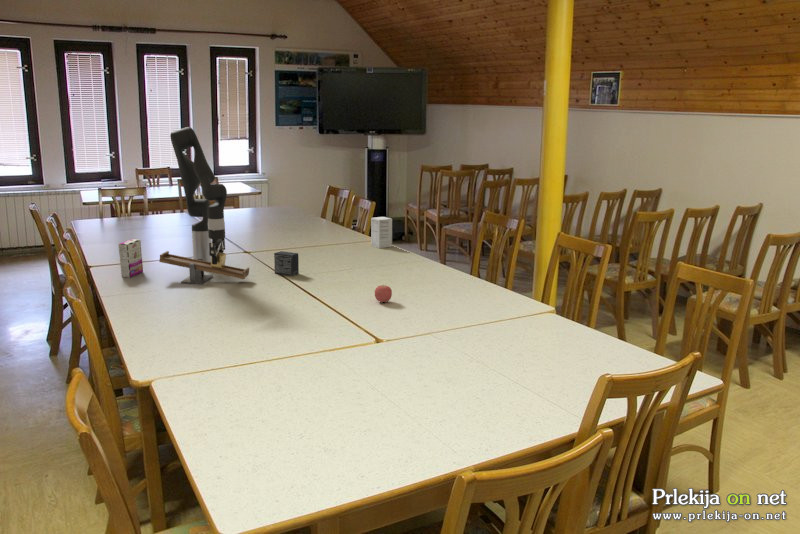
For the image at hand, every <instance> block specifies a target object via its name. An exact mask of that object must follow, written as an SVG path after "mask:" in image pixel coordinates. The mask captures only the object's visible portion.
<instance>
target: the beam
mask: <svg viewBox="0 0 800 534" xmlns="http://www.w3.org/2000/svg"><path fill="white" fill-rule="evenodd" d="M159 263H163V264H166V265H167V264H169V265H172V266H177V267H183V268H187V269H189V264H195V269H196V270H201V271H204V272H208V273H212V274H217V275H223V276H227V277H231V278H236V279H239V280H240V279H242V280H244V279H246V277H248V276H249V275H250V267H246V268H241V267H236V266H235V267H234V266H230V265H226V264H225V268H223V269H218V268H213V267H211V262H206V261H201V260H196V259H193V257H192V258H191V257H186V256H180V255H176V254H171V253H170V251H169V250H166V251H165V252H163V253H161V254H159Z"/></svg>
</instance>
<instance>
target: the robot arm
mask: <svg viewBox="0 0 800 534" xmlns="http://www.w3.org/2000/svg"><path fill="white" fill-rule="evenodd" d="M169 138H170V142H171V146H172V149H173V152H174V154H175V158H176V160H177V165H178V169H179V175H180V179H181V183H182V187H183V191H184V196H185V203H186V209H187V212H188V214H189V215H188V216H190V217H193V218H202V220H200V221H197V222H195V223H193V224H191V235H192V236H191V239H192V255H193V256H192V259H196V260H198V259H203V261H206V262H211V259H212V264H215V265H216V264H217V253H218V252H221V253H225V250H226V242H225V241H226V239H225V238H226V224H225V223H226V222H225V214H224V213H225V211H224V210H225V209H224V208H225V204H226V200H227V196H228V190H227V187H226V186H225V184H222V183H214V184H212V183H213V182H214V181H216V176H215V174H214V172H213V170H212V169H211V167H210V165H209V163H208V161H207V159H206V156H205V153H204V150H203V148H202V146H201V143H200V141H199V139H198V136H197V134H196V132H195V130H194V129H193V128H192V127H190V126H187V127H183V128H180V129H176V130H173V131H171V133H170V137H169ZM190 148H193V149H194V159H193V160H191V159H190V158H189V157H187V155H185V153H184V150H186V149H190ZM199 186H200V187H201V192H202V196H203V197H204V198H194V195H195V192H196V191H197V189H198V187H199ZM211 201H214V203H212V204H211V203H210V202H211Z"/></svg>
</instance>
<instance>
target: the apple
mask: <svg viewBox="0 0 800 534" xmlns="http://www.w3.org/2000/svg"><path fill="white" fill-rule="evenodd" d="M392 295H393V291H392V288H391V287H390V286H388V285H386V284H384V283H383V284H381V285H378V286H376V288H375V290H374V296H375V299H376V300H377V302H379V301H380V302H379V303H381V302H385V303H387V302H386V301H388V302H389V301H390V300H391V299H392Z"/></svg>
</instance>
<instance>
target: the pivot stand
mask: <svg viewBox="0 0 800 534" xmlns="http://www.w3.org/2000/svg"><path fill="white" fill-rule="evenodd" d="M198 260H201V261H203V259H198ZM188 269H189V276H187V277H186V278H184V279H182V280H181V281H180V284H182V285H201V286H203V285H204V284H205V283H207V282H208V281H210V280H211V279H213V277H214V274H205V271H201V270H196V269H195V264H189V268H188Z"/></svg>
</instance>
